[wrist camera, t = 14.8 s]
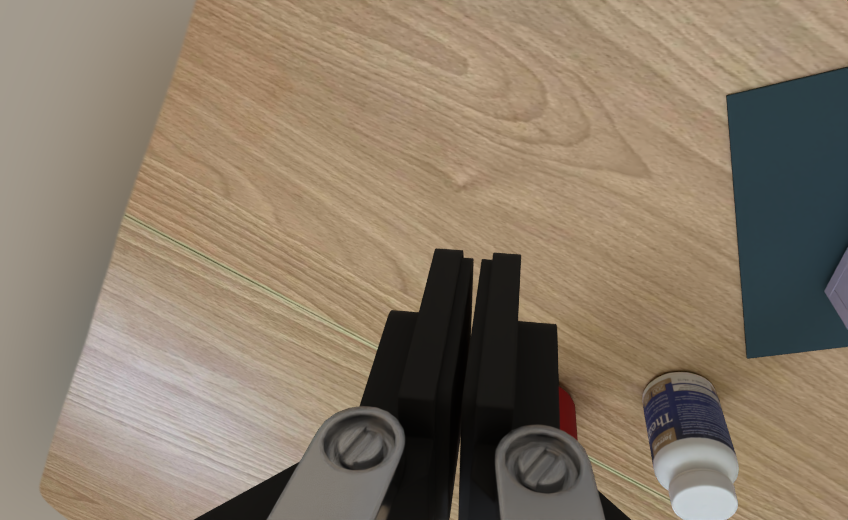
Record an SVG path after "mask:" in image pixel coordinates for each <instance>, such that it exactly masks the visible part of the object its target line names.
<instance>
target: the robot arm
mask: <svg viewBox="0 0 848 520" xmlns="http://www.w3.org/2000/svg"><path fill="white" fill-rule="evenodd" d="M520 269H521V255H519V254H506V253H493V260H487V259H482V262H481V269H480V276H479V283H478V290H477V297H476V304H475V312H474V319H473V326H472V333H471V318H472V290H473V258H464V255H463V250H450V249H437V248H436V249H435V251H434V255H433V259H432V263H431V267H430V271H429V275H428V279H427V283H426V287H425V291H424V294H423V298H422V302H421V306H420V310H419V312H408V311H396V310H391V311H390V313H389V315H388V318H387V321H386V324H385V327H384V331H383V334H382V337H381V340H380V343H379V346H378V350H377V353H376V356H375V359H374V362H373V365H372V369H371V372H370V375H369V378H368V381H367V384H366V388H365V391H364V394H363V397H362V400H361V403H360V406H359V407H352V408H348V409H345V410H342V411H340V412H337V413H335V414H334V415H333V416H331V417H330V418H328V419H327V420H326V421H325V422H324V423H323V424H322V426H321V427H320V428H319V429H318V431H317V433H316V434H315V436H314V438H313V440H312V441H311V443H310V445H309V447H308V448H307V450H306V452H305V454H304V455H303V457H302V459H301V460H300V462H298V463H296V464H295V465H293V466H291V467H289V468H287V469H285V470H284V471H282V472H280V473H278V474H276V475H274V476H273V477H271V478H269V479H267V480H265V481H264V482H262V483H260V484H258V485H256V486H254V487H253V488H251V489H249V490H247V491H245V492H243V493H242V494H240V495H238V496H236V497H234V498H233V499H231V500H229V501H227V502H225V503H223V504H222V505H220V506H218V507H216V508H214V509H212V510H211V511H209V512H207V513H205V514H203V515H201V516H200V517H198V518H196V519H194V520H449V518H450V511H451V504H452V496H453V489H454V482H455V474H456V467H457V459H458V452H459V444H460V437H461V446H460V481H459V517H458V520H631V519H630V518H629V517H627V516H626V515H625V514H624V513H623V512H622V511H621V510H620V509H618V508H617V507H616V506H615V505H614V504H613V503H612V502H611V501H609V500H608V499H607V498H606V497H605V496H604V495H603V494H602V493H600V492H599V491H598V489H597V486H596V482H595V478H594V474H593V470H592V466H591V462H590V460H589V457H588V455H587V453H586V451H585V449H584V448H583V447H582V446H581V444H580V443H579V442H578V441H577V440H576V439H575V438H573V437H572V436H570V435H569V434H567V433H566V432H564V431H562V430H560V408H559V374H558V340H557V325H556V324H547V323H535V322H523V321H518V309H519V289H520Z"/></svg>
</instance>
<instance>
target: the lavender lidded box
mask: <svg viewBox="0 0 848 520" xmlns="http://www.w3.org/2000/svg"><path fill="white" fill-rule="evenodd" d="M824 292H825V293H826V295H827V297H828V298H829V300H830V301H831V303H832V305H833V306H834V308H835V310H836V311H837V313H838V315H839V316H840V318H841V319H842V321H843V323H844V324H845V326H846V328H847V329H848V248H847V250H846V251H845V253H844V255H843V257H842V259H841V261H840V263H839V265H838V266H837V268H836V270H835V272H834V274H833V276H832V278H831V280H830V281H829V283H828V285H827V287H826V289H825V291H824Z"/></svg>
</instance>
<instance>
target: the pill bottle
mask: <svg viewBox="0 0 848 520" xmlns="http://www.w3.org/2000/svg"><path fill="white" fill-rule="evenodd" d="M643 408H644V415H645V420H646V427H647V433H648V438H649V444H650V450H651V456H652V462H653V468H654V472H655V475H656V477H657V479H658V481H659V482H660V484H661V485H662V486H663V487H664V488H666V489H667V490H668V491H669V496H670V500H671V505H672V508H673V510H674V512H675V513H676V514H677V515H678V516H679V517H680V518H682V519H684V520H726V519H728V518H729V517H731V516H732V515H733V514H734V513H735V512H736V510H737V507H738V501H737V496H736V493H735V487H734V485H733V483H734V482H735V480H736V478H737V476H738V471H739V466H738V461H737V457H736V454H735V451H734V447H733V444H732V441H731V438H730V435H729V431H728V428H727V425H726V422H725V418H724V415H723V412H722V409H721V405H720V402H719V399H718V396H717V393H716V390H715V388H714V386H713V385H712V384H711V383H710V382H709V381H708V380H706V379H705V378H704V377H701V376H699V375H696V374H693V373H688V372H673V373H668V374H664V375H662V376H660V377H658V378H656V379H654V380H653V381H652V382H650V383H649V384H648V385H647V387H646V389H645V390H644V393H643Z"/></svg>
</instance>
